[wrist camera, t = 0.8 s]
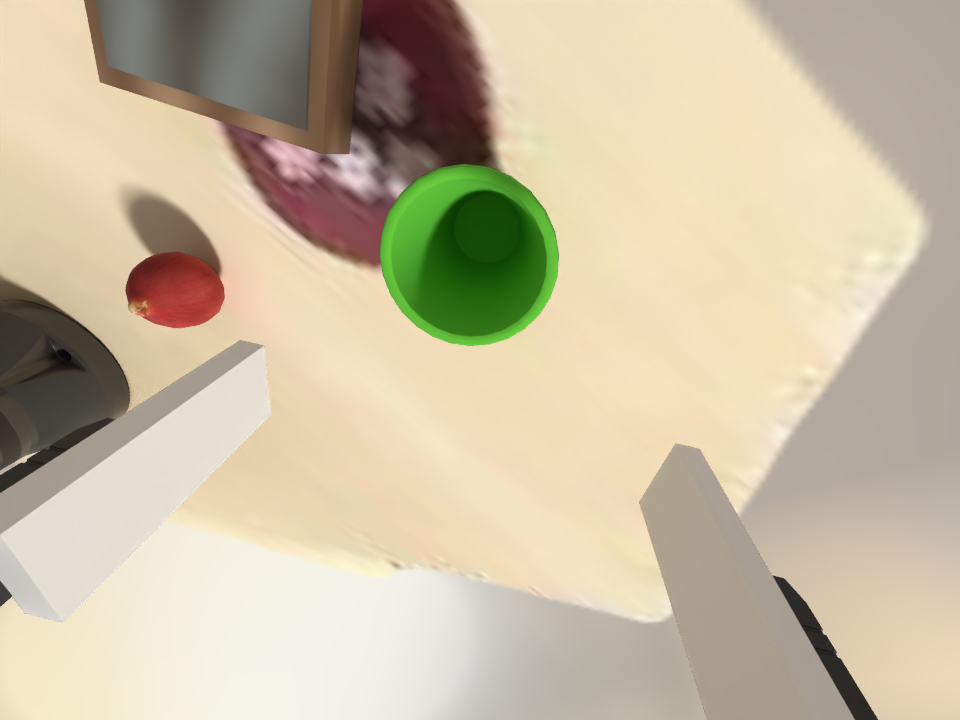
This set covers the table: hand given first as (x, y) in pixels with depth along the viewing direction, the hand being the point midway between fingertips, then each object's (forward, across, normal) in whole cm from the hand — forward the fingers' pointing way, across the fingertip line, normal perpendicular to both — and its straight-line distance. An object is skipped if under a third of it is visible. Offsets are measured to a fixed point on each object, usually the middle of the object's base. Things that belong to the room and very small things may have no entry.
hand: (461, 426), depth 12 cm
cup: (+20, -2, +2) cm, 20 cm away
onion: (+20, -24, -7) cm, 32 cm away
